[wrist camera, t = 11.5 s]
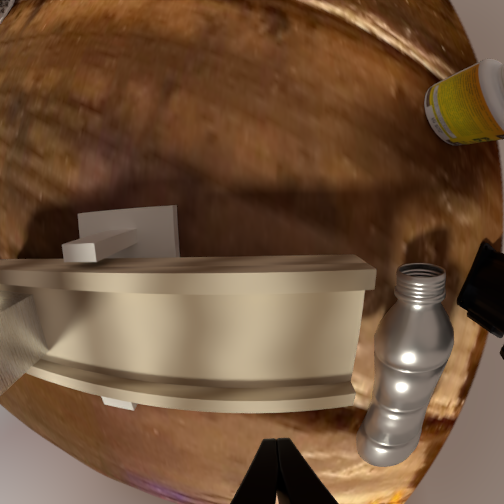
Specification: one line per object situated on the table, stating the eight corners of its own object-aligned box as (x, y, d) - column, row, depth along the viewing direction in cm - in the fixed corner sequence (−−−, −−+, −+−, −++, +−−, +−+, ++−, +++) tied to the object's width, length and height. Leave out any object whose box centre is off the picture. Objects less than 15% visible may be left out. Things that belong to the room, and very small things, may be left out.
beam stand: (176, 205, 19) (138, 211, 12) (194, 374, 21) (177, 429, 15) (84, 212, 19) (29, 222, 12) (112, 366, 22) (80, 409, 15)
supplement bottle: (443, 157, 17) (536, 148, 7) (409, 97, 16) (493, 54, 6) (475, 133, 17) (556, 120, 7) (445, 79, 16) (520, 44, 6)
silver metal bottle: (367, 424, 25) (387, 255, 21) (419, 436, 20) (464, 260, 16) (342, 464, 20) (362, 280, 16) (401, 480, 16) (467, 290, 12)
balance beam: (339, 244, 18) (376, 269, 12) (330, 352, 20) (352, 405, 14) (5, 252, 19) (-38, 267, 12) (24, 330, 20) (-12, 356, 14)
